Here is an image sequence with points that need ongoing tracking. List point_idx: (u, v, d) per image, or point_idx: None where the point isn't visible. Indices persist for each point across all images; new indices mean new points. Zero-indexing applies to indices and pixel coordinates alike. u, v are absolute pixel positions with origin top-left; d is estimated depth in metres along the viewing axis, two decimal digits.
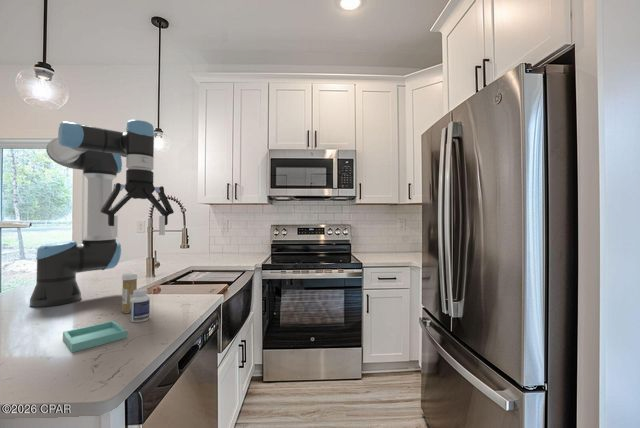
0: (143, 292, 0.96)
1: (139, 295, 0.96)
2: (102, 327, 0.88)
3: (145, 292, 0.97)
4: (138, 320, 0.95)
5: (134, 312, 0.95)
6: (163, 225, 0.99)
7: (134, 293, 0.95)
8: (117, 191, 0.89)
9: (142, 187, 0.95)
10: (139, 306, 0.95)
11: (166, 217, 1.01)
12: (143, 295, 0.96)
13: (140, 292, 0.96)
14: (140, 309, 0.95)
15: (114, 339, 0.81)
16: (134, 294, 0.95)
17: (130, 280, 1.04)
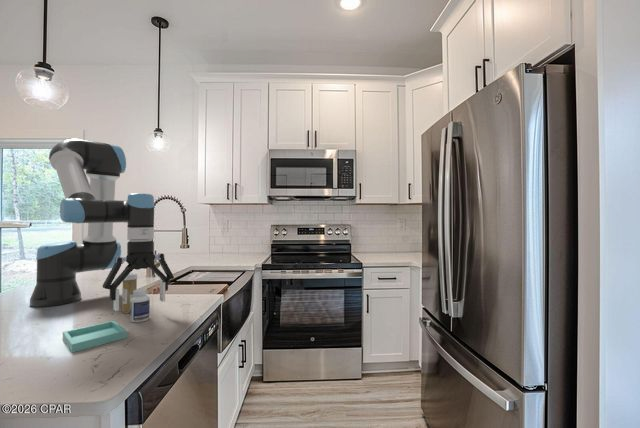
0: (143, 292, 0.96)
1: (139, 295, 0.96)
2: (102, 327, 0.88)
3: (145, 292, 0.97)
4: (138, 320, 0.95)
5: (134, 312, 0.95)
6: (163, 292, 1.01)
7: (134, 293, 0.95)
8: (118, 265, 0.91)
9: (143, 257, 0.97)
10: (139, 306, 0.95)
11: (166, 283, 1.03)
12: (143, 295, 0.96)
13: (140, 292, 0.96)
14: (140, 309, 0.95)
15: (114, 339, 0.81)
16: (134, 294, 0.95)
17: (130, 280, 1.04)
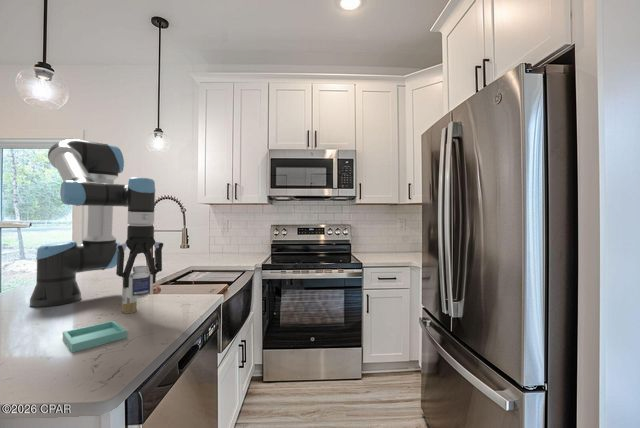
0: (143, 268, 0.97)
1: (139, 271, 0.96)
2: (102, 327, 0.88)
3: (145, 269, 0.97)
4: (138, 296, 0.95)
5: (134, 288, 0.95)
6: (151, 284, 0.99)
7: (134, 269, 0.96)
8: (122, 253, 0.92)
9: (144, 239, 0.97)
10: (138, 282, 0.95)
11: (154, 275, 1.00)
12: (143, 271, 0.97)
13: (140, 268, 0.96)
14: (140, 285, 0.95)
15: (114, 339, 0.81)
16: (134, 270, 0.96)
17: None
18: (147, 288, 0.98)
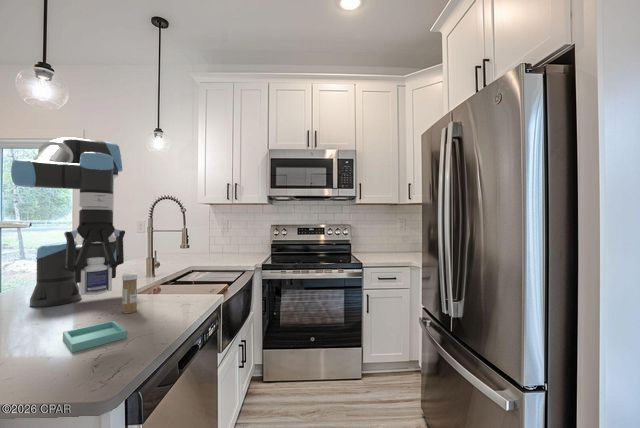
0: (99, 260, 0.82)
1: (94, 263, 0.81)
2: (102, 327, 0.88)
3: (101, 260, 0.82)
4: (92, 292, 0.80)
5: (87, 283, 0.80)
6: (110, 279, 0.84)
7: (88, 261, 0.81)
8: (71, 241, 0.78)
9: (100, 225, 0.82)
10: (93, 276, 0.80)
11: (114, 269, 0.85)
12: (99, 263, 0.82)
13: (95, 260, 0.81)
14: (95, 280, 0.80)
15: (114, 339, 0.81)
16: (88, 262, 0.81)
17: (130, 280, 1.04)
18: (105, 283, 0.82)
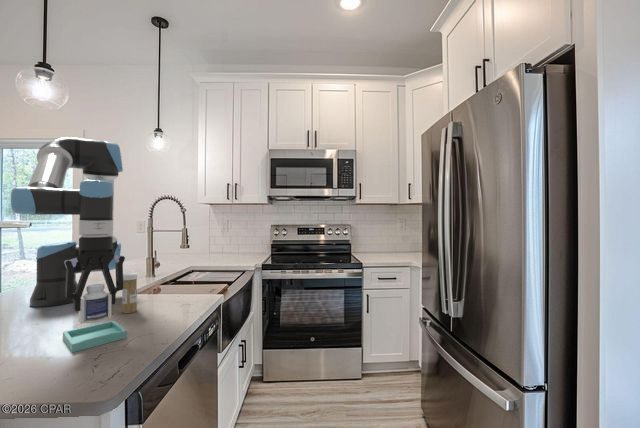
0: (98, 287, 0.81)
1: (93, 291, 0.81)
2: (102, 327, 0.88)
3: (101, 287, 0.82)
4: (92, 320, 0.80)
5: (87, 311, 0.80)
6: (109, 306, 0.84)
7: (87, 289, 0.81)
8: (71, 270, 0.77)
9: (99, 252, 0.82)
10: (93, 304, 0.80)
11: (114, 295, 0.85)
12: (98, 291, 0.82)
13: (94, 287, 0.81)
14: (94, 308, 0.80)
15: (114, 339, 0.81)
16: (87, 290, 0.81)
17: (130, 280, 1.04)
18: (104, 310, 0.82)
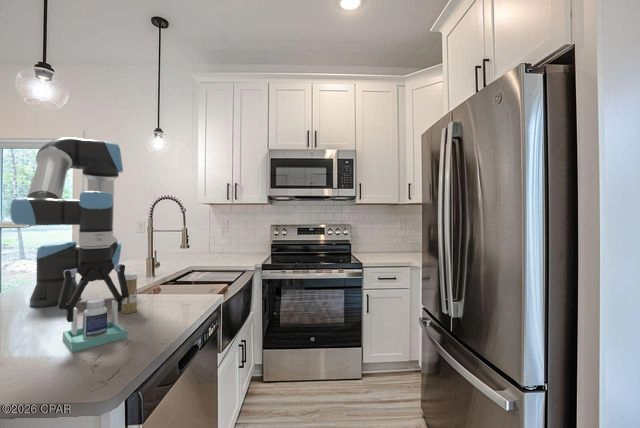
0: (99, 303, 0.82)
1: (93, 307, 0.81)
2: None
3: (101, 303, 0.82)
4: (92, 337, 0.80)
5: (87, 327, 0.80)
6: (115, 313, 0.85)
7: (87, 305, 0.81)
8: (68, 280, 0.77)
9: (99, 264, 0.82)
10: (93, 320, 0.80)
11: (120, 302, 0.86)
12: (99, 307, 0.82)
13: (95, 303, 0.81)
14: (94, 324, 0.80)
15: (114, 339, 0.81)
16: (87, 306, 0.81)
17: (130, 280, 1.04)
18: (104, 326, 0.83)
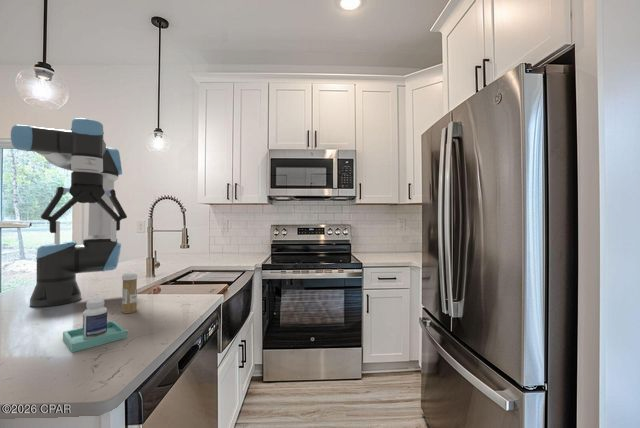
0: (98, 303, 0.82)
1: (93, 307, 0.81)
2: None
3: (101, 303, 0.82)
4: (92, 337, 0.80)
5: (87, 327, 0.80)
6: (114, 231, 0.93)
7: (87, 305, 0.81)
8: (59, 195, 0.83)
9: (89, 191, 0.88)
10: (93, 320, 0.80)
11: (118, 222, 0.95)
12: (98, 307, 0.82)
13: (94, 303, 0.81)
14: (94, 324, 0.80)
15: (114, 339, 0.81)
16: (87, 306, 0.81)
17: (130, 280, 1.04)
18: (104, 326, 0.83)
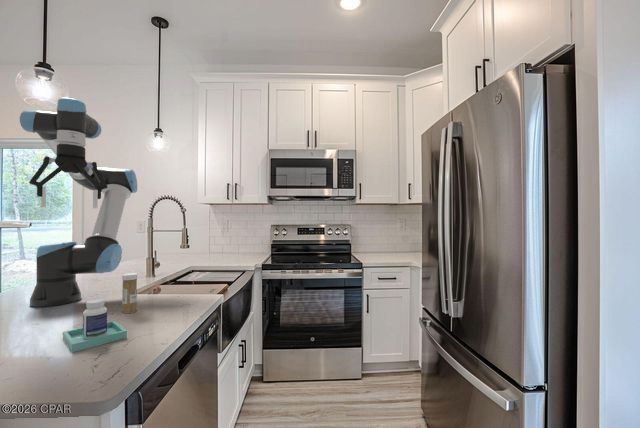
0: (98, 303, 0.82)
1: (93, 307, 0.81)
2: None
3: (101, 303, 0.82)
4: (92, 337, 0.80)
5: (87, 327, 0.80)
6: (96, 199, 1.05)
7: (87, 305, 0.81)
8: (45, 164, 0.95)
9: (73, 161, 1.00)
10: (93, 320, 0.80)
11: (99, 191, 1.06)
12: (98, 307, 0.82)
13: (94, 303, 0.81)
14: (94, 324, 0.80)
15: (114, 339, 0.81)
16: (87, 306, 0.81)
17: (130, 280, 1.04)
18: (104, 326, 0.83)
